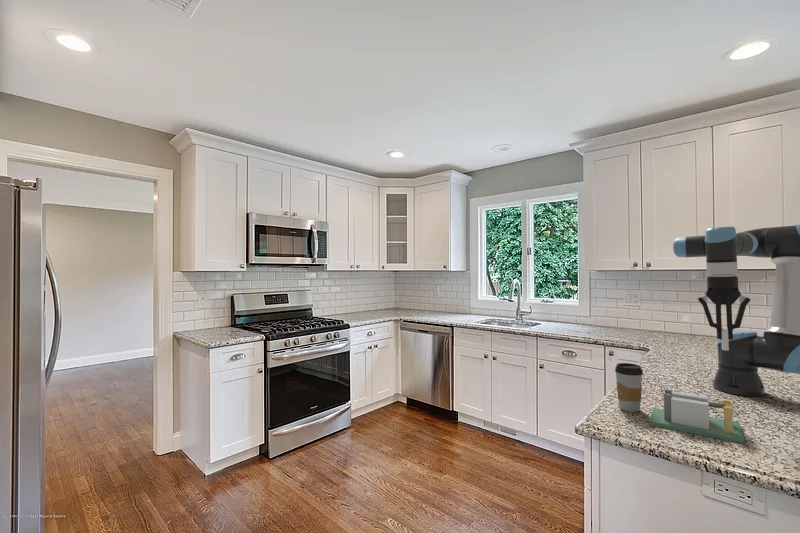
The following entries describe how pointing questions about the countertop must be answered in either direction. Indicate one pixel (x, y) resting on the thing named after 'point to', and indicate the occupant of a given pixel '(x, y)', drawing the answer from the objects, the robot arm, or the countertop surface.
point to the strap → (719, 405)
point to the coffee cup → (629, 386)
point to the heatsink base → (710, 433)
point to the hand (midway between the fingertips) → (725, 349)
